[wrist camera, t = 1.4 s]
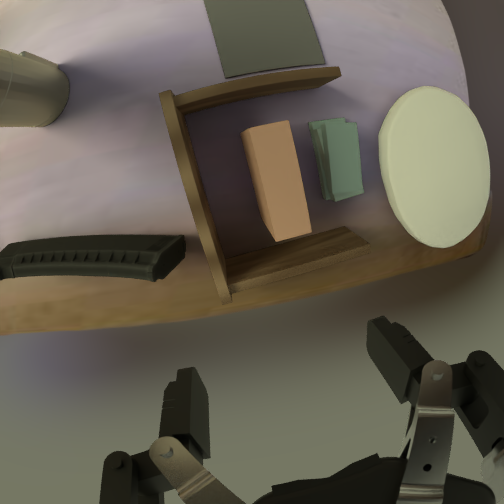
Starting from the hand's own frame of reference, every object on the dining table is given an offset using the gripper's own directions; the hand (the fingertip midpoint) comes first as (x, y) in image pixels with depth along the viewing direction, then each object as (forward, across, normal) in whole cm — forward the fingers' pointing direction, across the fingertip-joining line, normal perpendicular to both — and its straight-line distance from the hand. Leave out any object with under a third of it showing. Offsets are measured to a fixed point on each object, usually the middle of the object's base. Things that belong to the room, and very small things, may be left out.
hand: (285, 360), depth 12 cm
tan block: (+28, -5, -4) cm, 29 cm away
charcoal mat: (+28, -9, -26) cm, 39 cm away
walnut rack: (+28, -5, -4) cm, 29 cm away
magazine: (+29, +23, -1) cm, 37 cm away
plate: (+29, -35, -1) cm, 45 cm away
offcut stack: (+29, -15, -5) cm, 32 cm away
